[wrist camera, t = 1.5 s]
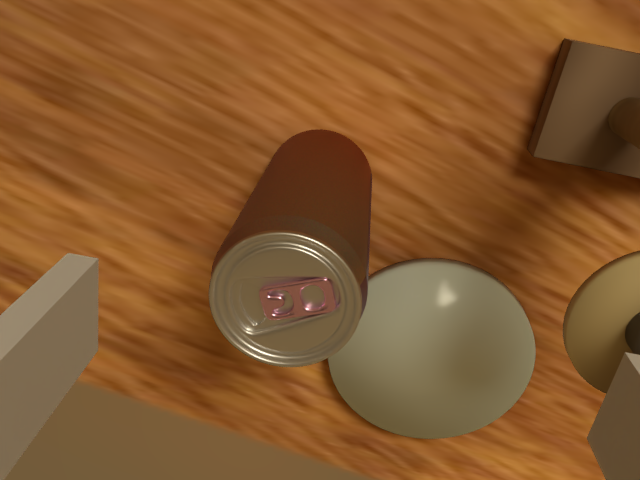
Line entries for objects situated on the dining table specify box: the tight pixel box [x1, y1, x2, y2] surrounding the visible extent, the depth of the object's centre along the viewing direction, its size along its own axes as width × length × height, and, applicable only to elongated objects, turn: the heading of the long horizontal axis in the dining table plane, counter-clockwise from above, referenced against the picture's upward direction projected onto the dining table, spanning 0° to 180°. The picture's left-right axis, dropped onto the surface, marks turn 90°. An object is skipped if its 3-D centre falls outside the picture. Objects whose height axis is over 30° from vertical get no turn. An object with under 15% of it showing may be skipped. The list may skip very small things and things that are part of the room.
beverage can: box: [209, 130, 372, 367], centre depth 29 cm, size 6×6×15 cm
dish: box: [328, 258, 535, 439], centre depth 39 cm, size 13×13×1 cm
